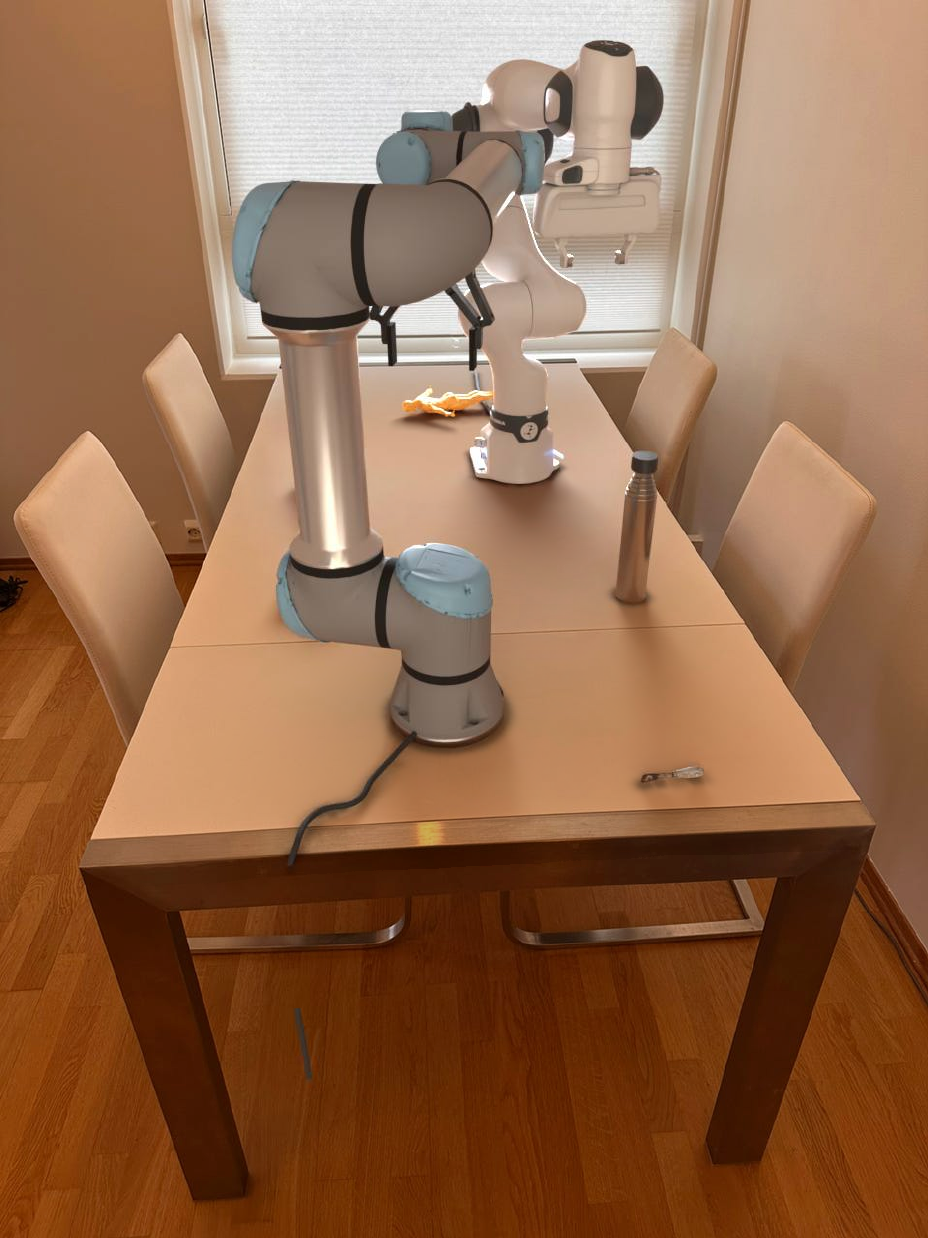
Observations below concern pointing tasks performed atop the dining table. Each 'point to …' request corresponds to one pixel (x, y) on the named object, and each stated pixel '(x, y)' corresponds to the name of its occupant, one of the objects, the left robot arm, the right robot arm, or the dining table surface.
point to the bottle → (636, 538)
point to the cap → (644, 462)
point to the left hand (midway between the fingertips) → (432, 366)
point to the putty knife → (674, 774)
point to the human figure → (445, 402)
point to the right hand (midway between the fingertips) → (593, 265)
